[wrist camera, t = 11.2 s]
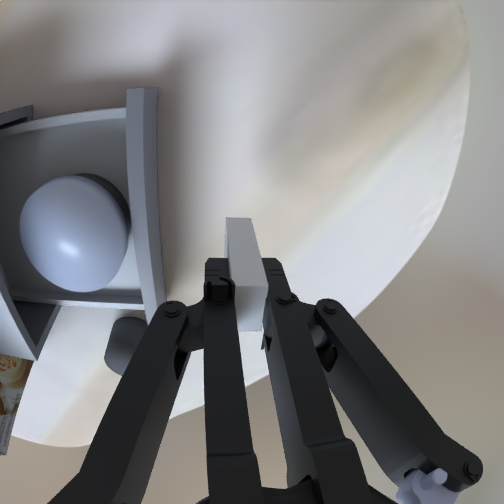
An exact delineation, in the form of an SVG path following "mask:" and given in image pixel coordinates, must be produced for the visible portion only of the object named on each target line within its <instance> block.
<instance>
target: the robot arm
mask: <svg viewBox="0 0 504 504" xmlns="http://www.w3.org/2000/svg"><path fill="white" fill-rule="evenodd" d="M262 325H263V328H264V334H263V340H262V346H261V350H263V349H264V347H265V353H266V358H267V363H268V369H269V374H270V379H271V385H272V390H273V395H274V400H275V405H276V411H277V416H278V421H279V426H280V432H281V437H282V442H283V447H284V453H285V458H286V463H287V486H288V488H287V489H276V488H266V487H262V486H261V480H260V473H259V467H258V461H257V457H256V454H255V453H254V450H253V445H252V437H251V430H250V423H249V416H248V408H247V400H246V393H245V385H244V377H243V369H242V360H241V352H240V344H239V335H238V331H262ZM203 348H204V400H205V428H206V447H207V448H206V449H207V475H208V489H209V496H208V497H206V498H204V499H202V500H201V501H199V502H198V503H196V504H398V503H396V502H395V501H393V500H391V499H390V498H388V497H387V496H385V495H383V494H382V493H380V492H379V491H377V490H376V489H374V488H373V487H371V486H370V485H368V483H367V480H366V476H365V473H364V470H363V467H362V464H361V460H360V457H359V454H358V451H357V448H356V446H355V444H354V442H353V441H352V440H351V439H348V438H346V437H345V436H344V433H343V430H342V427H341V424H340V421H339V418H338V415H337V411H336V408H335V405H334V402H333V399H332V396H331V393H330V390H329V388H330V389H331V391H332V392H333V394H334V396H335V397H336V399H337V400H338V402H339V403H340V405H341V407H342V408H343V410H344V411H345V413H346V414H347V416H348V418H349V419H350V421H351V422H352V424H353V425H354V427H355V428H356V430H357V432H358V433H359V435H360V436H361V438H362V439H363V441H364V442H365V444H366V446H367V447H368V449H369V450H370V452H371V453H372V455H373V457H374V458H375V459H376V461H377V463H378V464H379V466H380V467H381V469H382V470H383V471H384V473H385V474H386V475H387V476H388V477H389V479H390V480H391V481H392V482H393V483H394V484H396V485H397V486H398V487H399V490H398V492H397V494H396V498H397V500H398V501H399V502H403V503H404V504H454V502H455V500H456V499H457V497H458V495H459V493H460V492H461V491H462V490H464V489H466V488H468V487H470V486H472V485H474V484H475V483H477V482H478V481H479V480H480V478H481V476H482V473H483V465H482V462H481V460H480V459H479V458H478V457H477V456H476V455H475V454H473V453H472V452H470V451H469V450H467V449H466V448H464V447H463V446H461V445H460V444H458V443H457V442H456V441H454V440H452V439H451V438H450V437H448V436H447V435H445V434H444V432H443V431H442V430H441V428H440V427H439V426H438V424H437V423H436V422H435V420H434V419H433V418H432V417H431V415H430V414H429V413H428V411H427V410H426V409H425V407H424V406H423V405H422V403H421V402H420V401H419V399H418V398H417V397H416V396H415V394H414V393H413V392H412V390H411V389H410V388H409V387H408V385H407V384H406V383H405V382H404V381H403V379H402V378H401V377H400V375H399V374H398V373H397V372H396V370H395V369H394V368H393V367H392V365H391V364H390V363H389V362H388V361H387V359H386V358H385V357H384V356H383V354H382V353H381V352H380V350H379V349H378V348H377V347H376V345H375V344H374V343H373V342H372V341H371V339H370V338H369V337H368V336H367V334H366V333H365V332H364V331H363V330H362V328H361V327H360V326H359V325H358V324H357V322H356V321H355V320H354V319H353V318H352V316H351V315H350V314H349V313H348V312H347V310H346V309H345V308H344V307H343V306H342V305H341V304H340V303H339V302H338V301H335V300H333V299H321V300H319V301H318V302H317V303H316V305H311V304H306V303H303V302H301V301H299V299H298V297H297V296H296V295H295V294H294V293H292V292H291V290H290V287H289V284H288V281H287V279H286V276H285V273H284V271H283V267H282V264H281V263H280V262H279V261H278V260H277V259H276V258H261V255H260V251H259V247H258V243H257V239H256V236H255V232H254V228H253V224H252V220H251V218H226V231H225V252H224V258H209V259H208V260H207V261H206V263H205V282H204V297H203V299H202V300H201V301H200V302H199V303H197V304H195V305H191V306H187V307H186V305H184V304H183V303H182V302H179V301H167V302H164V303H162V304H161V305H160V306H159V307H158V308H157V310H156V312H155V314H154V315H153V317H152V319H151V321H150V323H149V325H148V327H147V329H146V331H145V332H144V334H143V336H142V338H141V340H140V342H139V344H138V346H137V348H136V350H135V352H134V354H133V356H132V358H131V360H130V362H129V364H128V366H127V368H126V370H125V372H124V374H123V376H122V378H121V380H120V382H119V384H118V386H117V388H116V390H115V392H114V394H113V397H112V399H111V401H110V403H109V405H108V407H107V409H106V412H105V414H104V416H103V418H102V420H101V423H100V425H99V427H98V429H97V431H96V434H95V436H94V438H93V441H92V443H91V445H90V448H89V450H88V452H87V455H86V457H85V460H84V462H83V464H82V467H81V469H80V472H79V473H78V474H77V475H76V476H75V477H74V478H73V479H72V480H71V481H70V482H69V483H68V484H67V485H66V486H65V487H64V488H63V489H62V490H61V491H60V492H59V493H58V494H57V495H56V496H55V497H54V498H53V499H52V500H51V501H50V502H49V503H47V504H141V502H142V499H143V496H144V494H145V491H146V488H147V485H148V481H149V478H150V475H151V472H152V469H153V466H154V462H155V459H156V456H157V453H158V450H159V447H160V444H161V441H162V438H163V435H164V432H165V428H166V426H167V423H168V420H169V417H170V414H171V411H172V408H173V405H174V402H175V399H176V396H177V393H178V390H179V387H180V384H181V381H182V378H183V375H184V372H185V369H186V367H187V364H188V361H189V358H190V355H191V352H192V351H196V350H199V349H203ZM328 386H329V387H328Z"/></svg>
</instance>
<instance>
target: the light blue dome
mask: <svg viewBox="0 0 504 504" xmlns="http://www.w3.org/2000/svg"><path fill="white" fill-rule="evenodd" d="M20 237H21V241H22V245H23V248H24V250H25V252H26V255H27V256H28V258H29V260H30V261H31V263H32V264H33V266H34V267H35V268H36V269H37V271H38V272H39V273H40V274H41V275H42V276H44V277H45V278H46V279H47V280H49V281H50V282H52V283H53V284H55V285H57V286H59V287H61V288H64V289H66V290H70V291H75V292H91V291H96V290H98V289H101V288H103V287H105V286H106V285H108V284H109V283H110V282H111V281H112V280H113V279H114V278H115V276H116V275H117V273H118V271H119V269H120V267H121V264H122V262H123V259H124V257H125V255H126V252H127V248H128V242H129V233H128V226H127V222H126V219H125V216H124V214H123V211H122V210H121V208H120V206H119V204H118V203H117V201H116V200H115V199H114V197H113V196H112V195H111V194H110V193H109V192H108V191H107V190H106V189H105V188H103V187H102V186H101V185H99V184H98V183H96V182H94V181H92V180H90V179H88V178H85V177H81V176H76V175H66V176H60V177H56V178H54V179H52V180H50V181H49V182H47V183H46V184H44V185H43V186H42V187H40V188H39V189H38V190H37V191H35V192H34V193H33V194H32V195H31V196H30V197H29V198H28V200H27V201H26V203H25V205H24V207H23V209H22V212H21V217H20Z"/></svg>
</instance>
